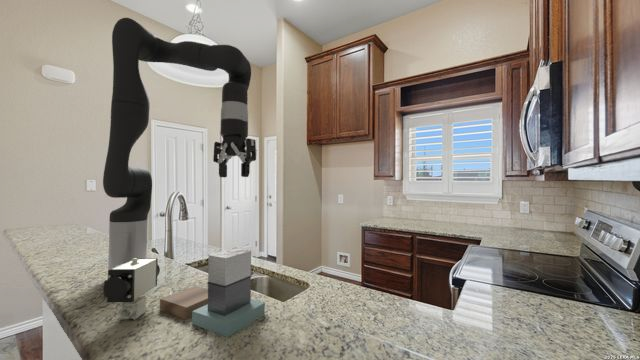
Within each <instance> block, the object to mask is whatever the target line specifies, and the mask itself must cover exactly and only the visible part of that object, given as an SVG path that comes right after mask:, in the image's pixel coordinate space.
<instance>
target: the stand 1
mask: <svg viewBox="0 0 640 360" xmlns="http://www.w3.org/2000/svg"><path fill="white" fill-rule="evenodd" d="M207 304H208V288H205V287H201V286H199V285H198V286H197V285H195V286H192V287H190V288H186V289H184V290H181V291H178V292H176V293H172V294H170V295H167V296H164V297H161V298H160V299H159V311H161V312H164V313H166V314H169V315H172V316H174V317H176V318H180V319H183V320H185V321H187V320H189V319H192V311H194V310H196V309H198V308H200V307H203V306H205V305H207Z"/></svg>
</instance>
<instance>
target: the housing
mask: <svg viewBox="0 0 640 360" xmlns="http://www.w3.org/2000/svg"><path fill="white" fill-rule="evenodd" d="M207 259H208V264H207V265H208V268H207V271H208V272H207V273H208V274H207V275H208V276H207V281H206V283H207V289H208V311H210V312H213V313H216V314H219V315H222V316H226V315H228V314H230V313H232V312H234V311H236V310H238V309H240V308H241V307H243V306H245V305H247V304H249V303H251V298H252V297H251V296H252V294H251V293H252V289H251V288H252V287H251V286H252V285H251V283H252V282H251V281H252V250H248V249H242V248H241V249H239V248H232V249H226V250H222V251H219V252H215V253H212V254H209V255H208V258H207Z"/></svg>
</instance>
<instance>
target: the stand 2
mask: <svg viewBox="0 0 640 360" xmlns="http://www.w3.org/2000/svg"><path fill="white" fill-rule="evenodd" d="M265 307H266V304H265V302H263V301H259V300H255V299H251V303H249V304H247V305H245V306H243V307H241V308H240V309H238V310H236V311H234V312H232V313H230V314H228V315H226V316H222V315H219V314H216V313H213V312H210V311H208V304H207V305H205V306H203V307H200V308H198V309H196V310H194V311H192V317H191V324H192V325H194V326H196V327H200V328H202V329H204V330H208V331H210V332H213V333H215V334H217V335H220V336H224V337H227V338H229V337H231V336H233V335H235V334H236V333H238V332H239V331H241V330H242V329H244V328H245V327H247V326H249V325H250V324H252V323H254V322H255V321H256V320H259V319H261V318H262V317H263V316H265V314H266V313H265V312H266V311H265Z"/></svg>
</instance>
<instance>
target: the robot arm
mask: <svg viewBox="0 0 640 360" xmlns="http://www.w3.org/2000/svg"><path fill="white" fill-rule="evenodd" d="M111 47H112V48H111V49H112V64H113V71H112V72H113V73H112V74H113V75H112V76H113V77H112V94H111V107H110V127H109V138H108V139H109V140H108V146H107V147H108V148H107V154H106V158H105V165H104V169H103V176H102V177H103V178H102V186H103V187H102V188H103V191H104V193H105V194H106V196H108V197H110V198H115V199H117V198H119V199H120V198H121V199H122V198H125V199H126V202H125V203H124V204H123V205H121V206H120V207H118V208H116V209H114V210H112V211H110V213H109V219H108V220H109V222H108V223H109V225H108V255H107V257H108V258H107V263H108V265H107V271H108V270H110V269H113V268H115V267H116V266H118V265H119V266H120V265H121V264H125V263H127V262H130V261H132V259H134V258H138V259H148V258H147V255H148V254H147V253H148V250H147V249H148V217H149V216H148V215H149V212H150V210H151V206H152V205H151V204H152V193H153V178H152V175H151V173H150V171H149V170H148V169H146V168H145V167H142V166H141V167H140V166H130V165H129V160H130V154H131V151H132V149H133V147H134V145H135V144H136V142H137V141H138V140H139V139H140V137H141V136H142V135H144V132H145V131H146V129H147V128H148V125H149V121H150V120H149V119H150V105H151V104H150V99H149V96H148V92H147V89H146V87H145V85H144V82H143V79H142V77H141V71H140V65H139V64H140V63H139V62H140V61H141V62H146V63H165V64H176V65H181V66H186V67H190V68H196V69H199V70H203V71H208V72H209V71H210V72H214V71H216V70H218V69H219V70H223V71H224V72H225V73H227V74H228V81H227V82H225V83H224V84H223V85H222V89H221V90H222V91H221V106H220V107H221V108H220V132H219V133H220V136H221V137H222V142H220V141H215V142H214V145H213V158H212V160H213V163H217V164H218V176H219V178H227V177H228V162H229V160H231V159H232V158H233V157H238V158H239V159H240V161H241V166H240V172H241V173H240V176H241V177H243V178H249V176H250V171H251V170H250V169H251V163H252V162H255V161H256V160H257V145H256V140H255V139H252V138H250V137H249V109H248V95H249V94H248V92H249V91H248V90H249V87H250V83H251V79H252V66H251V63H250V61H249V60H248V58H247V57H246V56H245V55H244V53H243V52H242V51H241V49H239V48H238V47H236V46H232V45H230V44H212V45H210V44H206V43H201V42H197V41H191V40H185V41H179V42H170V41H167V40H164V39H161V38H159V37H157V36H155V35H154V34H153V33H152V32H151V31H149V30H148V28H146V27H144V26H143V25H142V24H141V23H139V22H137V21H136V20H134V19H132V18H131V17H121V18H119V19H118V20H117V21H116V22H115V24H114V25H113V29H112V35H111ZM248 137H249V138H248Z"/></svg>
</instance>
